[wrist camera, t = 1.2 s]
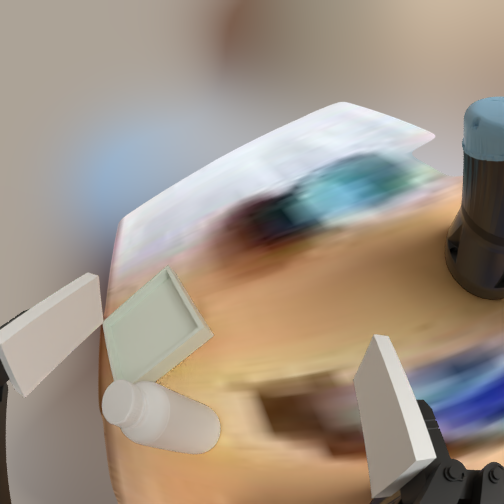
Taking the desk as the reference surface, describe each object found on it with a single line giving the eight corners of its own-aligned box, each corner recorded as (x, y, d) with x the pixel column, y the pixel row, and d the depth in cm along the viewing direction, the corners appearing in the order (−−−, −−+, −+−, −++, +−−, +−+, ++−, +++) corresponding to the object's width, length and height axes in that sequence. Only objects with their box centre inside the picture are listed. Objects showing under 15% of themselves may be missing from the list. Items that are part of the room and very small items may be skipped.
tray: (176, 273, 58) (168, 265, 56) (214, 335, 43) (204, 326, 41) (111, 329, 55) (102, 322, 53) (129, 400, 40) (117, 395, 38)
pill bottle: (167, 428, 34) (87, 398, 24) (199, 394, 36) (126, 353, 26) (196, 465, 28) (109, 450, 18) (233, 429, 31) (156, 401, 21)
